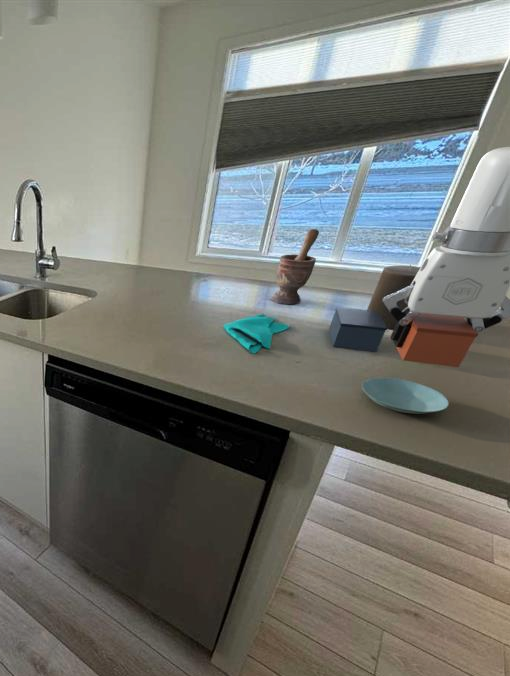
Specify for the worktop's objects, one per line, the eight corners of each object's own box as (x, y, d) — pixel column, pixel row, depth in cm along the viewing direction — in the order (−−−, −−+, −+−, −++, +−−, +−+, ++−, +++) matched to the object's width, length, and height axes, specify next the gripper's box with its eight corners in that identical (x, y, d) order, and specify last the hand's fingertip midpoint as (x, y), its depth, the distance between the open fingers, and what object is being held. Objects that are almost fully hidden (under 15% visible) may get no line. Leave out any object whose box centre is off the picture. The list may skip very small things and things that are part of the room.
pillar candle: (374, 329, 102) (398, 270, 95) (356, 315, 110) (377, 260, 103) (421, 330, 100) (450, 269, 92) (399, 316, 108) (424, 259, 100)
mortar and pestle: (270, 292, 131) (287, 227, 121) (302, 294, 127) (323, 228, 117) (268, 303, 123) (286, 235, 113) (302, 306, 119) (324, 236, 109)
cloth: (243, 312, 119) (244, 305, 118) (297, 322, 110) (299, 314, 108) (203, 341, 104) (204, 333, 103) (262, 356, 95) (264, 347, 94)
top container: (442, 345, 72) (459, 313, 69) (459, 367, 65) (478, 333, 62) (391, 339, 75) (404, 309, 72) (402, 360, 68) (417, 327, 65)
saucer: (406, 427, 70) (411, 416, 68) (342, 393, 80) (346, 383, 78) (461, 414, 71) (467, 403, 70) (391, 383, 81) (396, 373, 80)
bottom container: (368, 333, 100) (378, 311, 97) (376, 352, 92) (387, 328, 89) (328, 329, 104) (335, 307, 101) (332, 347, 96) (340, 323, 93)
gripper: (408, 244, 62) (364, 348, 71) (581, 248, 54) (507, 365, 63) (397, 234, 68) (358, 332, 76) (553, 237, 59) (489, 346, 68)
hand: (425, 346), depth 70 cm, fingers closed on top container, 6 cm apart
